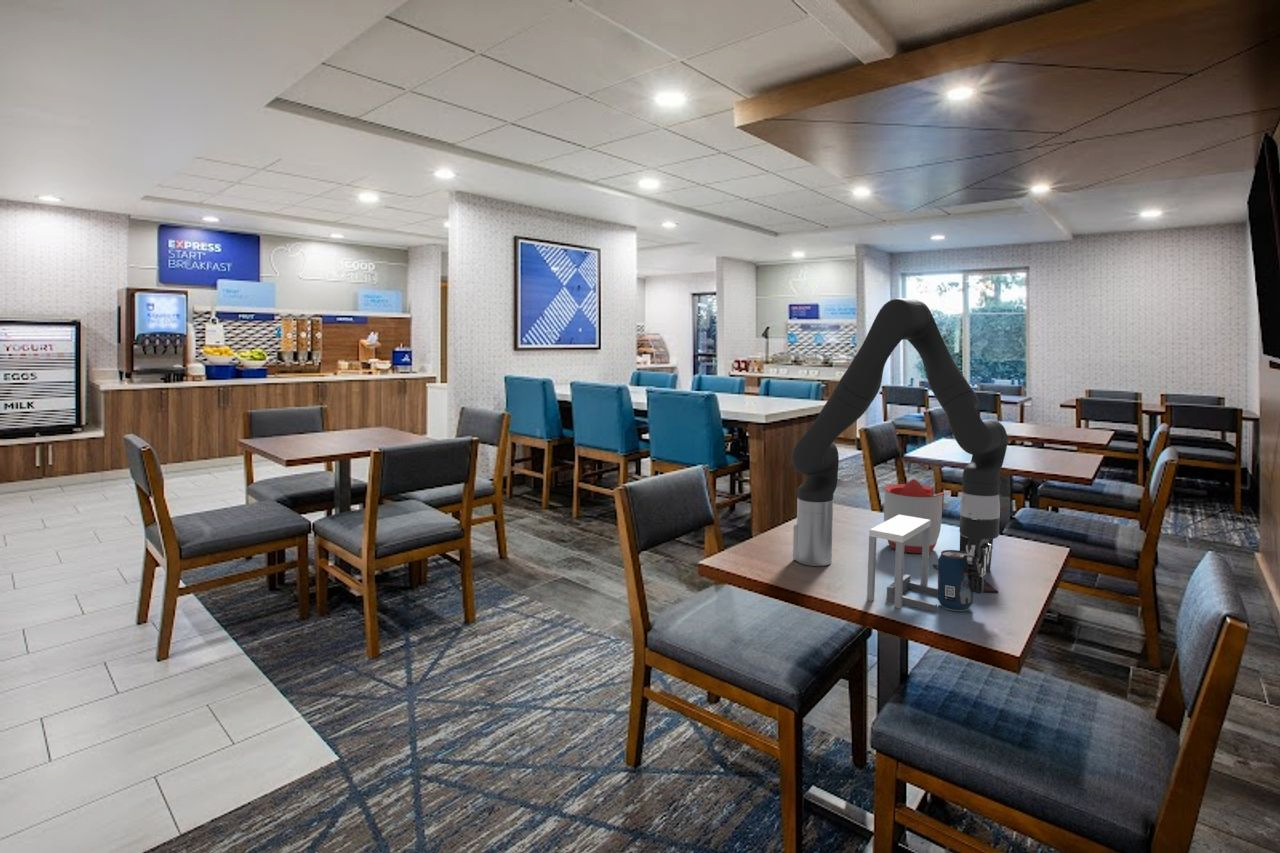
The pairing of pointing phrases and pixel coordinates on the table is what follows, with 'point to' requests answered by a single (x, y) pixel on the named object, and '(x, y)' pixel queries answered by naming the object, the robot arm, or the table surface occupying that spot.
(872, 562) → the overhang shelf
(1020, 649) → the table surface
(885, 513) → the citrus juicer
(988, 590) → the chocolate bar
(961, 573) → the soda can
